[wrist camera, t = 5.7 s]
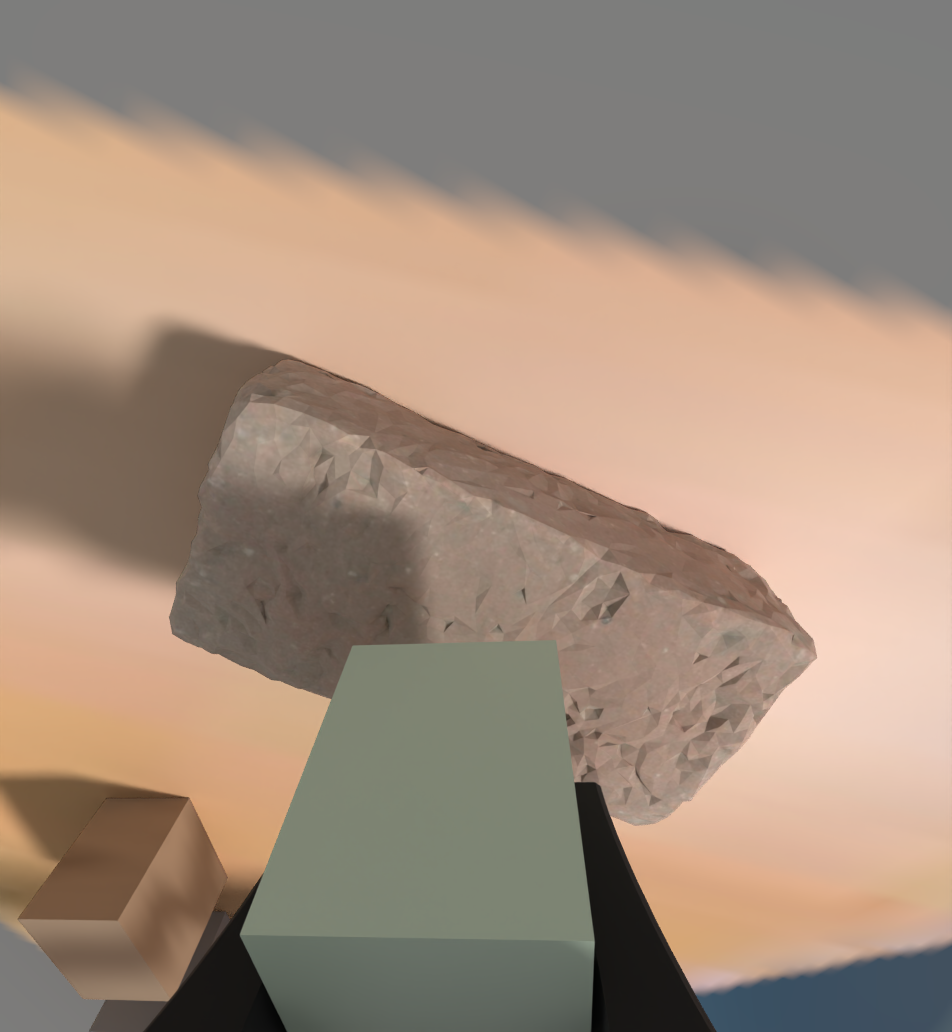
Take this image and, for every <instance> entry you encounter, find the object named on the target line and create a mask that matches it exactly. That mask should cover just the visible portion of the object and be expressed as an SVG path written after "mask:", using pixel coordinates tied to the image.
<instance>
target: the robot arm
mask: <svg viewBox="0 0 952 1032" xmlns="http://www.w3.org/2000/svg"><path fill="white" fill-rule="evenodd" d="M574 784H575V792H576V800H577V807H578V815H579V823H580V831H581V839H582V846H583V854H584V862H585V870H586V878H587V885H588V893H589V901H590V909H591V917H592V924H593V932H594V940H595V945H594V969H593V993H592V1018H591V1032H716V1030H715V1028H714V1027H713V1025H712V1023H711V1022H710V1020H709V1018H708V1016H707V1014H706V1013H705V1011H704V1009H703V1008H702V1006H701V1004H700V1002H699V1000H698V999H697V997H696V995H695V993H694V991H693V990H692V988H691V986H690V984H689V982H688V980H687V979H686V977H685V975H684V973H683V971H682V969H681V967H680V965H679V964H678V962H677V960H676V958H675V956H674V954H673V952H672V951H671V949H670V947H669V945H668V943H667V941H666V939H665V937H664V935H663V933H662V931H661V929H660V927H659V925H658V923H657V921H656V919H655V917H654V915H653V913H652V911H651V909H650V907H649V904H648V902H647V900H646V898H645V896H644V894H643V892H642V890H641V888H640V886H639V884H638V882H637V879H636V877H635V875H634V873H633V870H632V868H631V866H630V864H629V861H628V859H627V857H626V854H625V852H624V850H623V847H622V845H621V842H620V840H619V838H618V835H617V833H616V830H615V827H614V825H613V822H612V819H611V817H610V814H609V811H608V808H607V805H606V802H605V799H604V796H603V792H602V789H601V786H600V785H598V784H597V783H596V782H574ZM263 874H264V873H263ZM262 876H263V875H262ZM262 876H261V877H260V879H259V880H258V882H257V883H256V885H255V886H254V888H253V889H252V890H251V892H250V893H249V895H248V896H247V898H246V899H245V901H244V902H243V903H242V905H241V906H240V908H239V909H238V910H237V912H236V913H235V915H234V916H233V917H232V919H231V920H230V921H229V923H228V924H227V925H226V927H225V928H224V929H223V931H222V932H221V933H220V935H219V936H218V937H217V939H216V940H215V942H214V943H213V944H212V946H211V947H210V948H209V950H208V951H207V952H206V954H205V955H204V956H203V958H202V959H201V960H200V962H199V963H198V964H197V966H196V967H195V968H194V969H193V971H192V972H191V973H190V975H189V976H188V977H187V978H186V980H185V981H184V982H183V983H182V985H181V986H180V987H179V988H178V990H177V991H176V992H175V993H174V995H173V996H172V997H171V998H170V1000H169V1001H168V1002H167V1003H166V1005H165V1006H164V1007H163V1008H162V1009H161V1011H160V1012H159V1013H158V1014H157V1015H156V1017H155V1018H154V1019H153V1020H152V1021H151V1023H150V1024H149V1025H148V1026H147V1028H146V1029H145V1030H144V1031H143V1032H287V1030H286V1028H285V1026H284V1024H283V1022H282V1020H281V1018H280V1016H279V1014H278V1012H277V1010H276V1008H275V1006H274V1004H273V1002H272V1000H271V998H270V996H269V994H268V992H267V990H266V988H265V986H264V984H263V982H262V980H261V977H260V975H259V973H258V971H257V969H256V967H255V965H254V963H253V961H252V959H251V957H250V955H249V953H248V951H247V949H246V947H245V945H244V943H243V941H242V939H241V937H240V933H241V930H242V928H243V925H244V922H245V920H246V917H247V915H248V912H249V910H250V907H251V905H252V902H253V899H254V897H255V894H256V892H257V889H258V887H259V884H260V881H261V879H262Z"/></svg>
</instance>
